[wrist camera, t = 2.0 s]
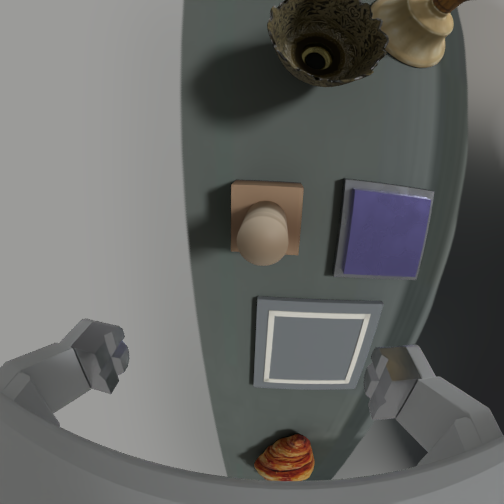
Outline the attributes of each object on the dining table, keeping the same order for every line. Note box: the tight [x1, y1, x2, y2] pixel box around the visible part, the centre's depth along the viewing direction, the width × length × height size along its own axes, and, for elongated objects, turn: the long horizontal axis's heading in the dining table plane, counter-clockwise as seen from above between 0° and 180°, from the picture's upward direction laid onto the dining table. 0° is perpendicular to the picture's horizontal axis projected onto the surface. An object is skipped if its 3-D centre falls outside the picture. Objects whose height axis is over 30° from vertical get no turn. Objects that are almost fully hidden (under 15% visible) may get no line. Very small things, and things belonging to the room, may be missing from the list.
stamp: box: [231, 180, 304, 266], centre depth 21 cm, size 6×6×8 cm
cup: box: [267, 0, 389, 87], centre depth 16 cm, size 8×7×8 cm
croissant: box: [254, 434, 314, 481], centre depth 38 cm, size 21×10×8 cm, turn 174°
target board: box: [253, 296, 383, 390], centre depth 30 cm, size 13×13×1 cm
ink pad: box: [332, 178, 434, 280], centre depth 24 cm, size 9×9×2 cm
